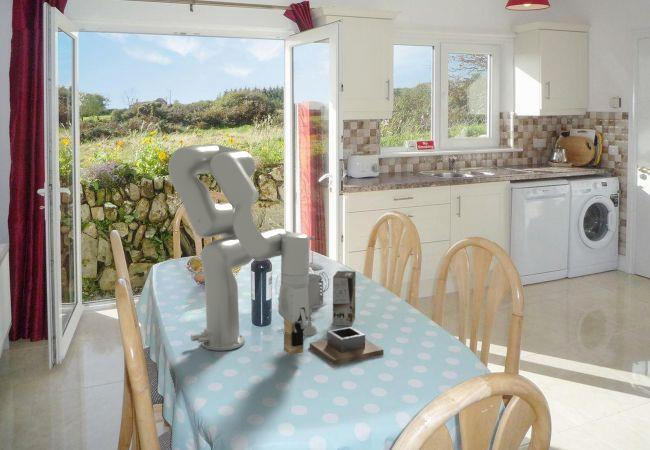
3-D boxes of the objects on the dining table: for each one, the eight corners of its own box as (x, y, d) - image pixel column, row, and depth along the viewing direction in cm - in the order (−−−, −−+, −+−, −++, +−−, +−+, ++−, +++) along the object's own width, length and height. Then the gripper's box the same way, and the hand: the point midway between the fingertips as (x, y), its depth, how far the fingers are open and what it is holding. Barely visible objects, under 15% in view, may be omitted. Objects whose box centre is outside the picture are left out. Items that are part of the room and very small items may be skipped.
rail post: (290, 355, 174) (290, 313, 171) (283, 350, 177) (284, 309, 175) (303, 352, 176) (303, 311, 173) (296, 347, 179) (297, 307, 177)
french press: (309, 298, 235) (309, 232, 231) (335, 303, 229) (335, 235, 224) (293, 305, 228) (292, 236, 223) (319, 310, 221) (319, 240, 216)
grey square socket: (341, 353, 178) (341, 339, 178) (327, 344, 185) (327, 331, 185) (365, 348, 182) (365, 334, 182) (350, 339, 189) (350, 326, 188)
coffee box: (351, 326, 205) (352, 278, 202) (332, 325, 206) (332, 276, 203) (356, 317, 214) (356, 270, 211) (337, 316, 215) (337, 270, 212)
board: (334, 365, 174) (334, 360, 174) (309, 347, 187) (309, 342, 186) (383, 354, 181) (383, 349, 181) (355, 338, 194) (356, 333, 194)
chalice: (303, 337, 195) (303, 281, 192) (294, 331, 201) (293, 275, 198) (324, 333, 198) (324, 278, 195) (315, 327, 204) (314, 273, 201)
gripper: (269, 272, 178) (268, 334, 181) (296, 288, 163) (294, 355, 167) (293, 269, 181) (292, 330, 185) (321, 285, 167) (319, 350, 171)
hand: (293, 341), depth 176 cm, fingers closed on rail post, 4 cm apart
